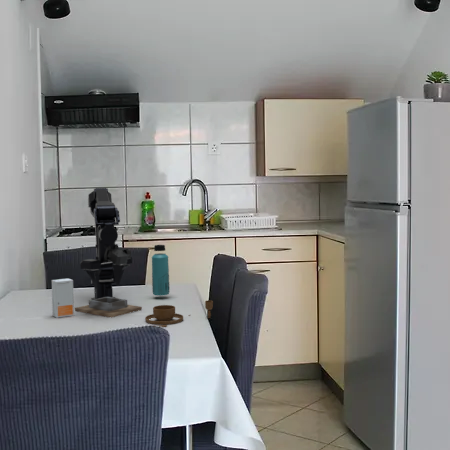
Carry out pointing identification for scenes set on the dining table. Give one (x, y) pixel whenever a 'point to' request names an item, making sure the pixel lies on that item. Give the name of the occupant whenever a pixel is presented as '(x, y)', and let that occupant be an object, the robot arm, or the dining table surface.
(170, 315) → the place setting
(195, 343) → the dining table surface
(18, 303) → the dining table surface
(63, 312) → the skincare box
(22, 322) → the dining table surface
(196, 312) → the dining table surface
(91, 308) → the duct collar
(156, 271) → the beverage bottle
